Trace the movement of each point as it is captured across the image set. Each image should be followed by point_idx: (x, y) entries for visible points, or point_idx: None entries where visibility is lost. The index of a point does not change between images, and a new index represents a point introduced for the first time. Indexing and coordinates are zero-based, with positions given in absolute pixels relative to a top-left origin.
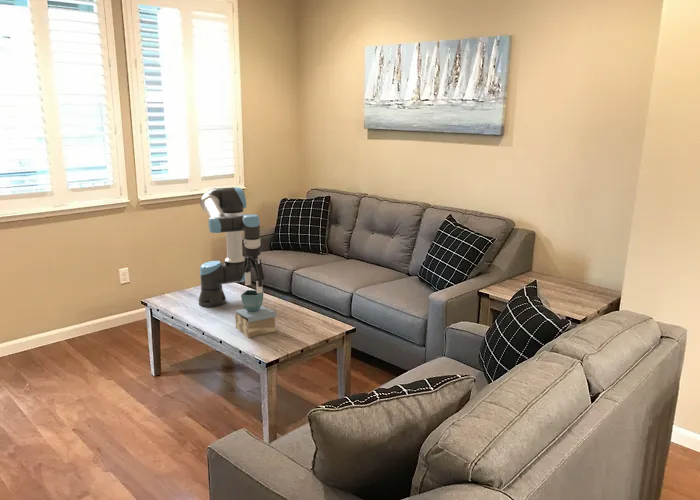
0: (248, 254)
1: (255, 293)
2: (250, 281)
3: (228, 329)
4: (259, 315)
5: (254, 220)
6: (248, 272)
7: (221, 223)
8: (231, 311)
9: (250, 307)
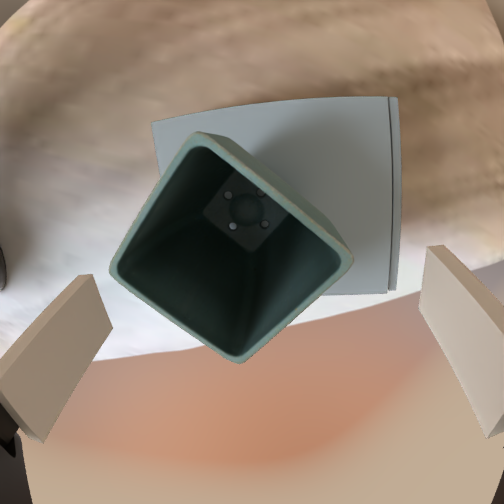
0: None
1: (163, 204)
2: (73, 300)
3: None
4: (390, 217)
5: None
6: (14, 410)
7: None
8: (39, 217)
9: (284, 253)
